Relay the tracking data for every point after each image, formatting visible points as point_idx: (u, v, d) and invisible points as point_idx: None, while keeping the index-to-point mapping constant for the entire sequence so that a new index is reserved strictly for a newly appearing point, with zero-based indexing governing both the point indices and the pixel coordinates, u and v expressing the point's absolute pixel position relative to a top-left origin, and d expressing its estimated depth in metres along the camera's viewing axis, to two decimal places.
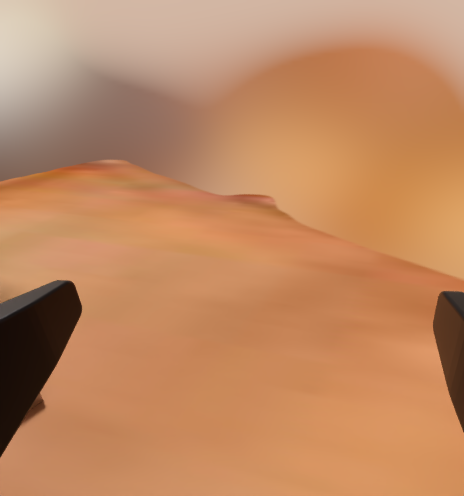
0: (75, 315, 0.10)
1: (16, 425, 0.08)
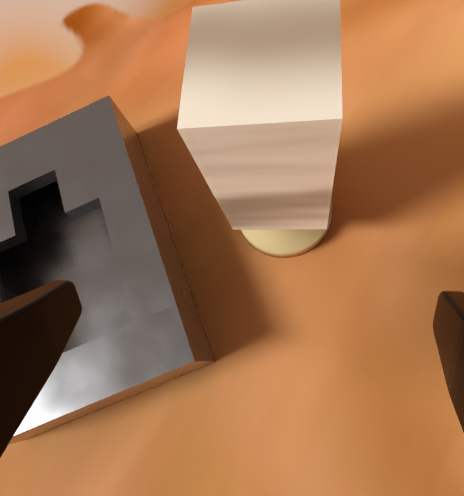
0: (75, 315, 0.10)
1: (16, 425, 0.08)
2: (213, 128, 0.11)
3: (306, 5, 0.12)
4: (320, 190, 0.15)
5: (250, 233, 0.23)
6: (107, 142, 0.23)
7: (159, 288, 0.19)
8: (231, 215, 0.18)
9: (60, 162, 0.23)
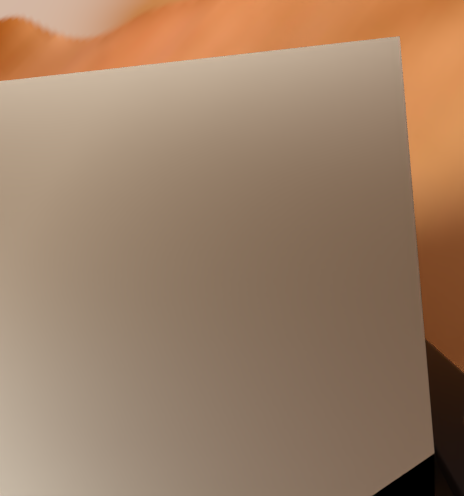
0: None
1: None
2: None
3: (261, 110, 0.03)
4: None
5: None
6: None
7: None
8: None
9: None
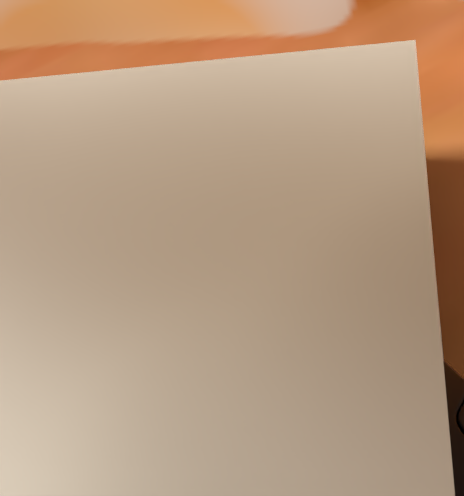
0: None
1: None
2: None
3: (280, 110, 0.03)
4: None
5: None
6: None
7: None
8: None
9: None
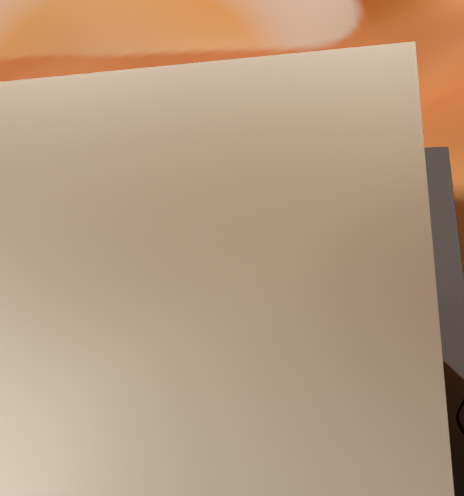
0: None
1: None
2: None
3: (280, 111, 0.03)
4: None
5: None
6: None
7: None
8: None
9: None
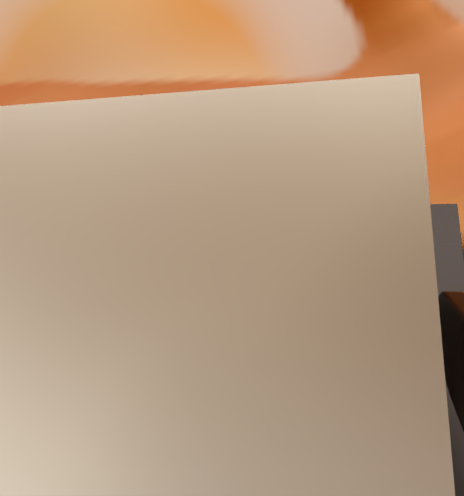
0: None
1: None
2: None
3: (286, 141, 0.03)
4: None
5: None
6: None
7: None
8: None
9: None
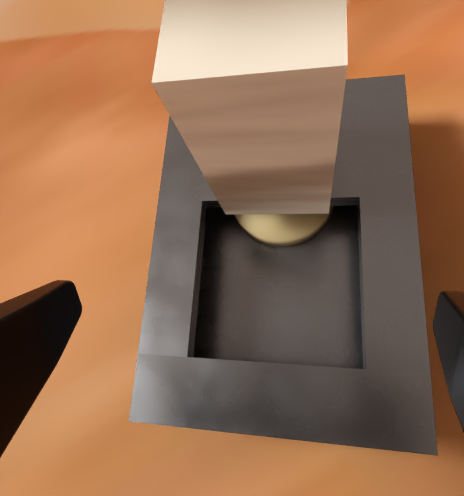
0: (75, 315, 0.10)
1: (16, 425, 0.08)
2: (195, 82, 0.10)
3: None
4: (321, 164, 0.13)
5: (245, 220, 0.21)
6: (388, 132, 0.19)
7: (412, 343, 0.15)
8: (223, 196, 0.16)
9: None
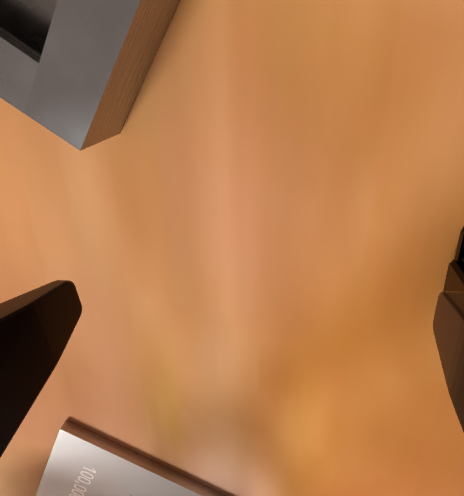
0: (75, 315, 0.10)
1: (16, 425, 0.08)
2: None
3: None
4: None
5: None
6: None
7: None
8: None
9: None
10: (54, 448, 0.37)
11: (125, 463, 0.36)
